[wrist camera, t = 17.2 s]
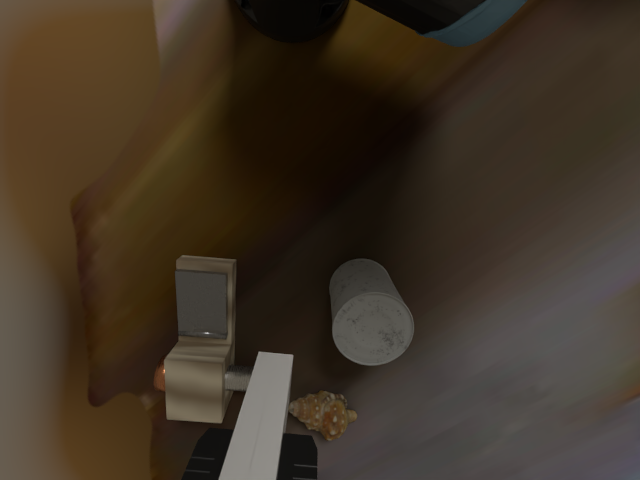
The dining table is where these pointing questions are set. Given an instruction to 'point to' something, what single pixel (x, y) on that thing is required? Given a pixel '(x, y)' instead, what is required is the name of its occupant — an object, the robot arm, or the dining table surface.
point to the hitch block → (202, 358)
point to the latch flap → (202, 303)
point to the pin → (234, 377)
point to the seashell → (323, 413)
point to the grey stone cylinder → (368, 314)
